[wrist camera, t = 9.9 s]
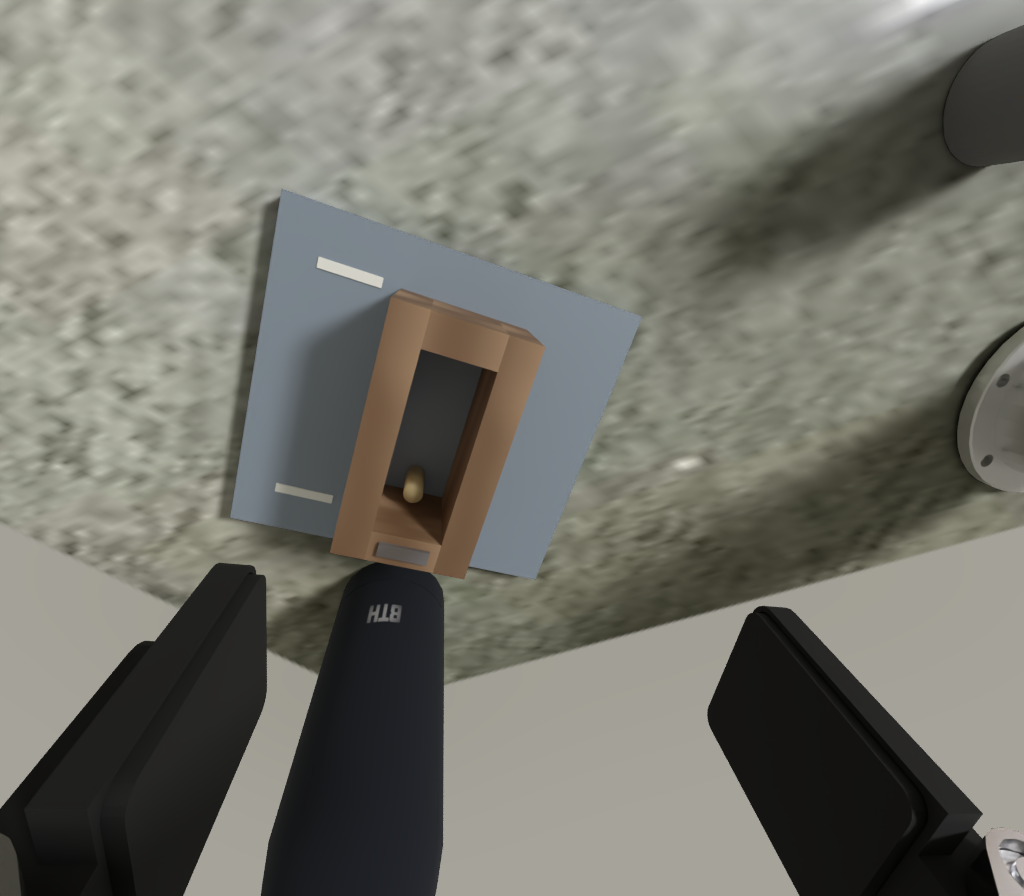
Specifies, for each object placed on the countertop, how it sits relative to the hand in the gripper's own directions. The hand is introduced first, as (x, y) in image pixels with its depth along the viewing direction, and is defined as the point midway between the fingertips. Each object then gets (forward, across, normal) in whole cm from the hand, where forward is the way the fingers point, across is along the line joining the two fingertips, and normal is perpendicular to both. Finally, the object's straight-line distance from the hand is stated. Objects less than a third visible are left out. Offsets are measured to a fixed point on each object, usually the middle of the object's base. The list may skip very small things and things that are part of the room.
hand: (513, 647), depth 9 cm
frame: (+18, +2, +2) cm, 18 cm away
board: (+19, +2, +2) cm, 19 cm away
